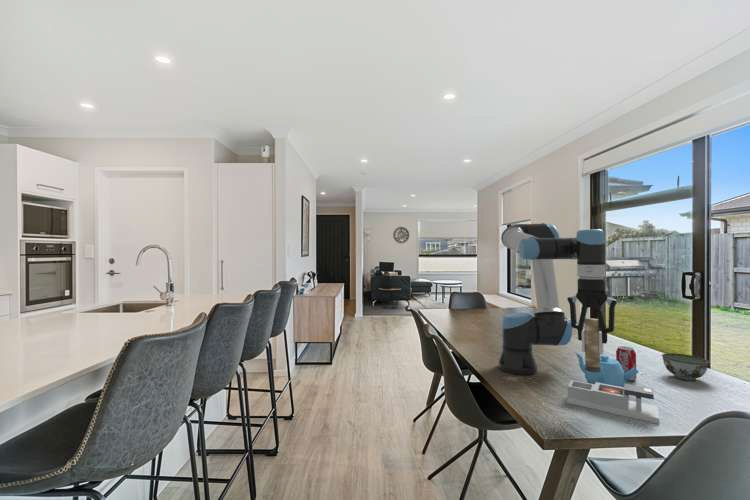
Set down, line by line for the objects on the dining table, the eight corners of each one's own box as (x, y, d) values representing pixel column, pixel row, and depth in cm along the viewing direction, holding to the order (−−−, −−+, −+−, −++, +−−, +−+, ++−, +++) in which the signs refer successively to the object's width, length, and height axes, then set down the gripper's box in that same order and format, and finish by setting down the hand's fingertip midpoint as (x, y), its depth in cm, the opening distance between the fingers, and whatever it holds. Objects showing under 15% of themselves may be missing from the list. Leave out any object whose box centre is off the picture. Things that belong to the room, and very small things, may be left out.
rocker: (624, 393, 104) (623, 388, 104) (624, 387, 109) (624, 382, 109) (653, 399, 100) (653, 394, 100) (653, 393, 105) (652, 387, 105)
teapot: (595, 394, 118) (595, 361, 119) (573, 380, 132) (573, 350, 132) (640, 394, 118) (639, 361, 118) (613, 380, 132) (613, 350, 132)
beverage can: (640, 382, 129) (639, 350, 130) (621, 381, 131) (620, 349, 131) (631, 376, 136) (630, 346, 136) (613, 375, 137) (612, 345, 137)
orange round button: (601, 396, 109) (601, 391, 109) (602, 391, 112) (602, 387, 112) (619, 399, 106) (619, 395, 106) (620, 394, 109) (620, 390, 109)
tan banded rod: (584, 370, 108) (583, 319, 108) (586, 367, 111) (585, 317, 111) (599, 373, 105) (598, 321, 105) (601, 369, 108) (600, 319, 109)
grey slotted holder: (567, 402, 112) (566, 386, 112) (572, 393, 120) (571, 377, 120) (659, 423, 98) (658, 404, 98) (657, 411, 106) (657, 393, 106)
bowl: (660, 378, 133) (660, 358, 133) (663, 370, 143) (662, 351, 143) (710, 387, 124) (709, 365, 124) (708, 378, 133) (708, 357, 133)
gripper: (558, 277, 111) (559, 350, 111) (622, 279, 100) (624, 360, 100) (563, 276, 117) (565, 345, 117) (625, 278, 106) (627, 354, 106)
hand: (592, 352), depth 108 cm, fingers closed on tan banded rod, 4 cm apart
